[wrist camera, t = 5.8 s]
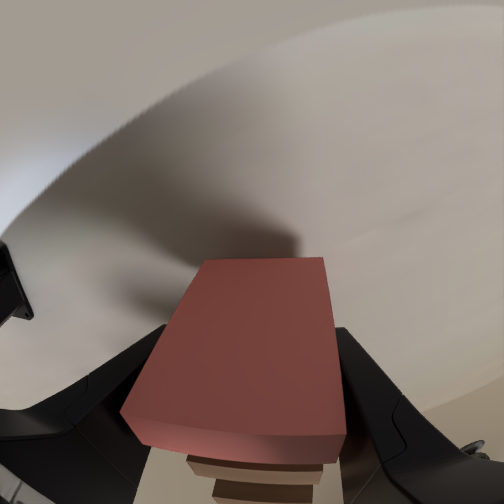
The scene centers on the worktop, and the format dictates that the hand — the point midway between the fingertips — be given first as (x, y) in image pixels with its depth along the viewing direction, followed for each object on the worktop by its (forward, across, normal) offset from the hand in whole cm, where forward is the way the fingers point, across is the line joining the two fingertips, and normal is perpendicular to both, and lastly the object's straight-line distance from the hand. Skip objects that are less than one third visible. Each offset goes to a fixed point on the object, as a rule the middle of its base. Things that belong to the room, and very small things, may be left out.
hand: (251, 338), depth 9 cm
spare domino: (+4, 0, 0) cm, 4 cm away
